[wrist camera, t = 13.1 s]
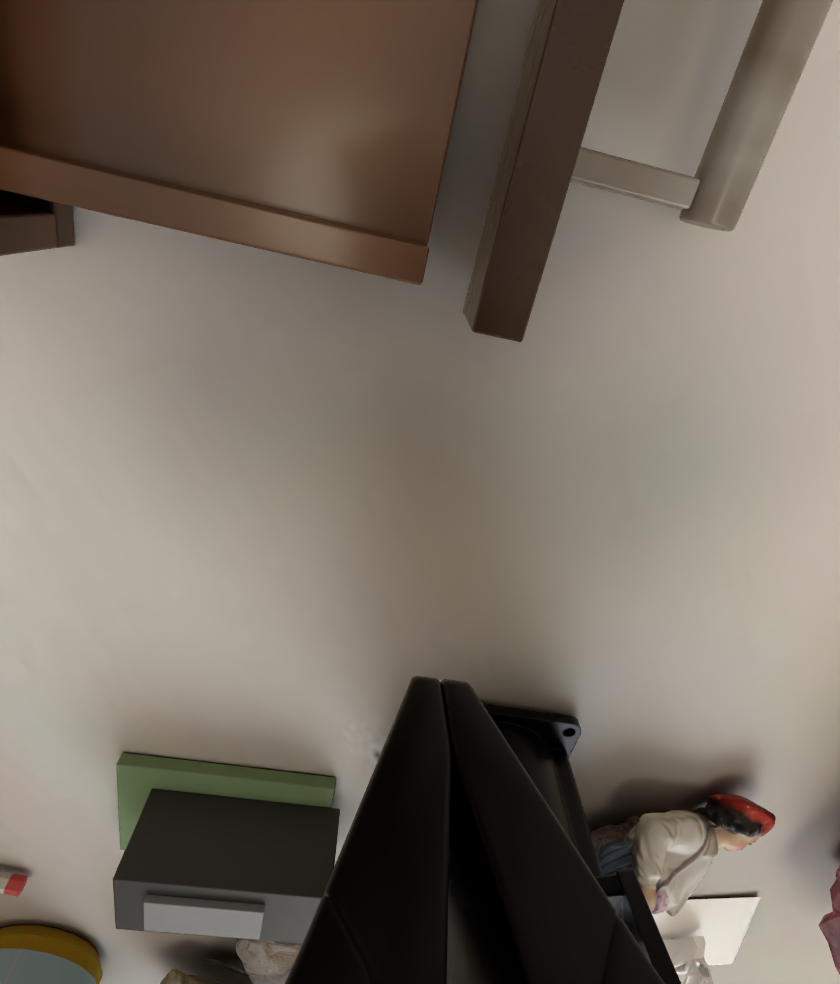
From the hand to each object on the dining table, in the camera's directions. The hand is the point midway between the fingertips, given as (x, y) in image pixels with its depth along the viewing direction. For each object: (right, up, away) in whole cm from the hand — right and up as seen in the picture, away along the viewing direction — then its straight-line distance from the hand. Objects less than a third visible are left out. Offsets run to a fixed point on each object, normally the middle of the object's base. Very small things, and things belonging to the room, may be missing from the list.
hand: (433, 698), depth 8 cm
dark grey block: (-8, -12, +17) cm, 22 cm away
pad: (-9, -11, +17) cm, 22 cm away
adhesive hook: (+13, -22, +23) cm, 34 cm away
